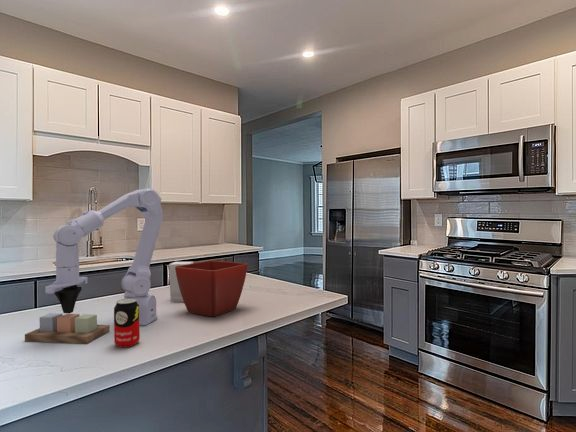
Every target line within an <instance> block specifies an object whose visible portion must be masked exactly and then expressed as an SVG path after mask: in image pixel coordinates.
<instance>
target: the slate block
mask: <svg viewBox="0 0 576 432" xmlns="http://www.w3.org/2000/svg"><path fill="white" fill-rule="evenodd" d="M63 315H64V313H56V312H55V313H53V312H50V313H47V314H44V315H41V316H39V328H40V331H41V332H54V331H56V330H57V318H58V317H60V316H63Z"/></svg>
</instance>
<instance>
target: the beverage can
mask: <svg viewBox="0 0 576 432" xmlns="http://www.w3.org/2000/svg"><path fill="white" fill-rule="evenodd" d="M115 303H116V304H115V305H114V308H113V322H114V323H113V325H114V326H113V327H114V328H113V336H114V337H113V338H114V339H113V340H114V341H113V342H114V344H115V345H116V346H117V347H119V348H129V347H132V346H133V347H134V345H136V344H137V343H139V341H140V336H141V335H140V325H139V305H138V303H137V299H133V298H128V299H124V298H123V299H122V298H121V299H118V300H116V302H115Z"/></svg>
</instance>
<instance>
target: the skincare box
mask: <svg viewBox="0 0 576 432" xmlns="http://www.w3.org/2000/svg"><path fill="white" fill-rule="evenodd" d="M193 263H194V261H174V262H171V263H169V264H168V270H169V272H168V273H169V297H170V302H171V303H184V301H183V298H182V295H181V292H180V288H179V285H178V280H177V276H176V270H175V267H176V266H181V265H187V264H193Z"/></svg>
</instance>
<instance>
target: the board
mask: <svg viewBox="0 0 576 432" xmlns="http://www.w3.org/2000/svg"><path fill="white" fill-rule="evenodd" d="M110 328H111V327H110V324H97V329H96V330H94V331H92V332H90V333H75V331H73V332H71V333H69V332H57V330H56V331H54V332H41V331H40V327H38V328H37V329H35V330H32V331H29V332H27V333H24V342H30V343H31V342H32V343H36V342H37V343H54V344H55V343H56V344H58V343H59V344H60V343H61V344H79V345H80V344H81V345H82V344H83V345H85V344H86V345H88V344H91V342H93V341H95V340H97V339H99V338H100V337H103V336H104V335H106V334H109V333H110V330H111V329H110Z"/></svg>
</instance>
